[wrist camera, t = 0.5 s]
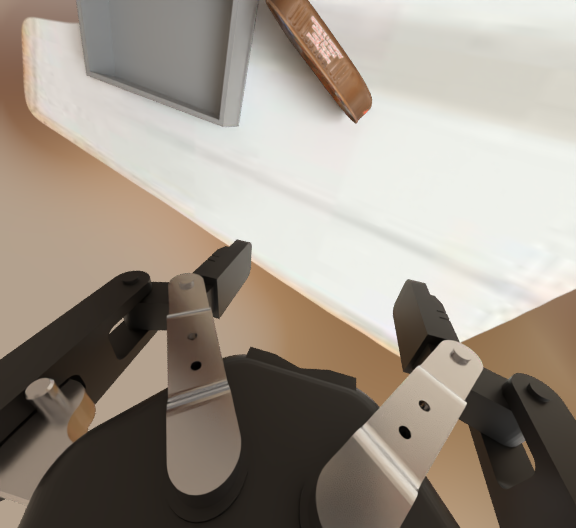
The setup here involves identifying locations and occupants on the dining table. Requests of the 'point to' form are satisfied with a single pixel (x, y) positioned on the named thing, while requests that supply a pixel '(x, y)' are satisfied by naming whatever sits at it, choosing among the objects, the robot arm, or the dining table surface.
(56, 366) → the robot arm
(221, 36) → the bin
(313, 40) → the tin
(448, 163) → the dining table surface
